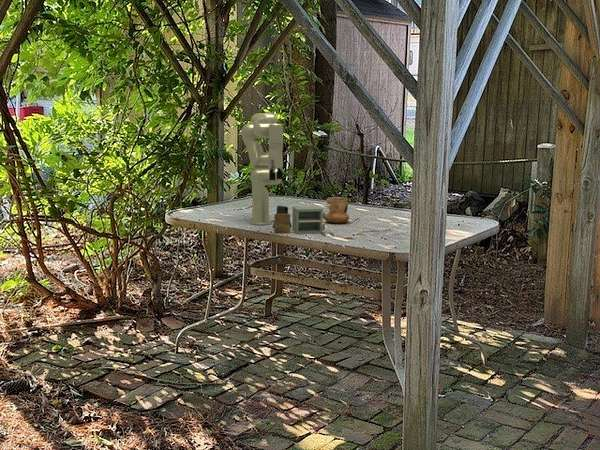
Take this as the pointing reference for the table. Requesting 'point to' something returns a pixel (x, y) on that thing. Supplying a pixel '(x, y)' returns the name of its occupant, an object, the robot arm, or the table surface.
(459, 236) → the table surface
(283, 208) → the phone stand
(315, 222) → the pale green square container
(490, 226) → the table surface
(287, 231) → the tan rectangular block
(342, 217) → the ceramic jug
